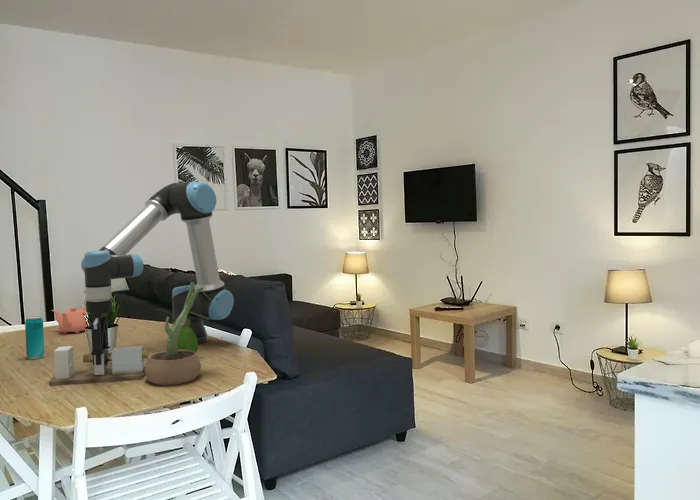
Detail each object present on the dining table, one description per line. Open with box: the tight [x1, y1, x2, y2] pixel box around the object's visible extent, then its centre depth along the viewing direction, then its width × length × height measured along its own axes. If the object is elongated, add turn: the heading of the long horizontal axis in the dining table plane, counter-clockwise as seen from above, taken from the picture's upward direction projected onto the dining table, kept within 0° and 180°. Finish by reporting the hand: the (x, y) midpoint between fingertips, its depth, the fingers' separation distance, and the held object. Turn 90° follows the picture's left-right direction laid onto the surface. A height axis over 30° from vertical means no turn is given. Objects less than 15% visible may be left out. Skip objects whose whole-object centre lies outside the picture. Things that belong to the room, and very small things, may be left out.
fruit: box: [177, 327, 199, 353], centre depth 203 cm, size 8×8×12 cm
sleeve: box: [110, 345, 145, 375], centre depth 182 cm, size 9×5×8 cm, turn 103°
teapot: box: [51, 305, 87, 335], centre depth 253 cm, size 14×14×11 cm
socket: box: [53, 345, 75, 379], centre depth 178 cm, size 4×6×10 cm, turn 13°
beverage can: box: [24, 315, 45, 360], centre depth 206 cm, size 6×6×15 cm
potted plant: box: [144, 281, 212, 386], centre depth 179 cm, size 22×18×30 cm
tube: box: [82, 349, 149, 366], centre depth 182 cm, size 19×5×5 cm, turn 103°
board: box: [48, 366, 146, 386], centre depth 181 cm, size 27×11×1 cm, turn 103°
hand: (101, 371), depth 181 cm, fingers closed on tube, 5 cm apart
